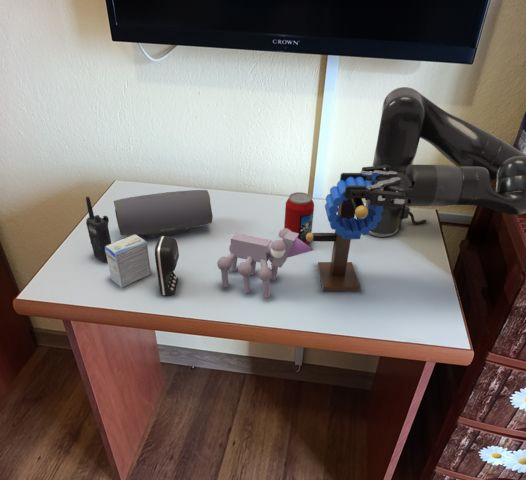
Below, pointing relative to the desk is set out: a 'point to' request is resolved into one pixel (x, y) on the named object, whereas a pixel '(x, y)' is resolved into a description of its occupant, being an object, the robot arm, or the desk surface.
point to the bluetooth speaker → (163, 212)
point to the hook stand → (339, 252)
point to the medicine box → (128, 260)
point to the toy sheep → (260, 256)
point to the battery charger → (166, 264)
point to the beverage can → (299, 214)
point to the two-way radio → (98, 232)
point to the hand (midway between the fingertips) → (343, 185)
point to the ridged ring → (352, 226)
